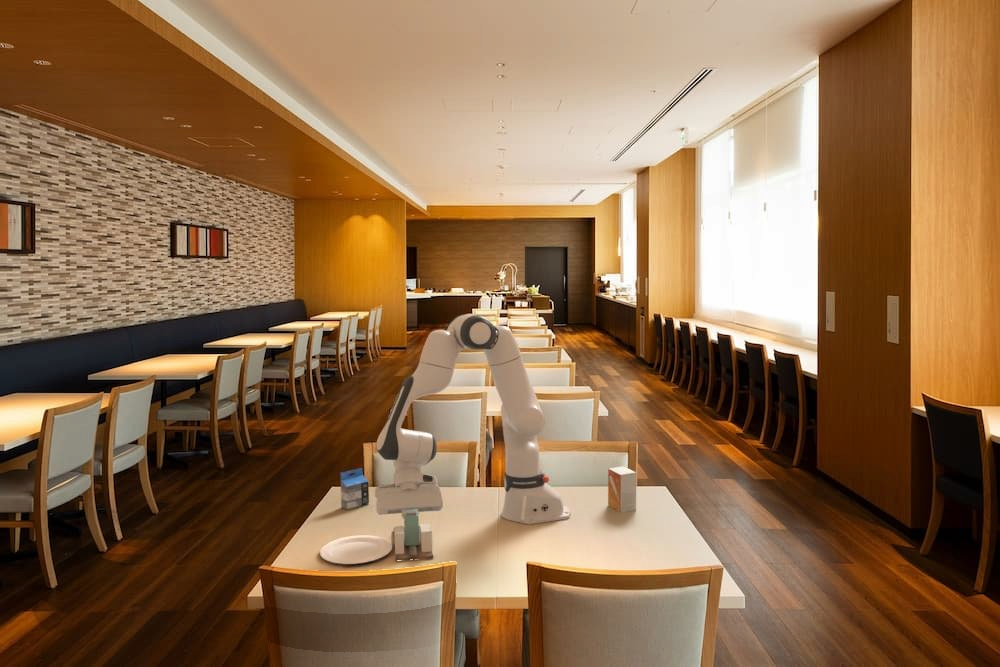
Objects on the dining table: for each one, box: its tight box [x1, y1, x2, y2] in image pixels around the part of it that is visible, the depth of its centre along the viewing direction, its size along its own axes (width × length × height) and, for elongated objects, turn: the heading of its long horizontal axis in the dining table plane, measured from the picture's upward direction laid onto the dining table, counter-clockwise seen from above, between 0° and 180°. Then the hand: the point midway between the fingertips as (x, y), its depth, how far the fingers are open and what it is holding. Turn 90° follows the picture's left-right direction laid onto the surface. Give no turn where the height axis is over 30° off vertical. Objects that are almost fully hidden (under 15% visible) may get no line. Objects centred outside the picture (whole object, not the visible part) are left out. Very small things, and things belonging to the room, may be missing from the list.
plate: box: [319, 534, 393, 566], centre depth 219 cm, size 21×21×2 cm
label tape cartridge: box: [340, 467, 370, 511], centre depth 258 cm, size 9×4×12 cm, turn 131°
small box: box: [607, 465, 637, 513], centre depth 253 cm, size 8×6×13 cm
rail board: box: [393, 525, 434, 561], centre depth 224 cm, size 10×24×1 cm, turn 9°
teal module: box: [403, 509, 420, 546], centre depth 222 cm, size 4×6×10 cm, turn 9°
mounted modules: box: [393, 523, 433, 554], centre depth 218 cm, size 10×6×6 cm, turn 99°
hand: (410, 524), depth 226 cm, fingers closed, pressing on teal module
